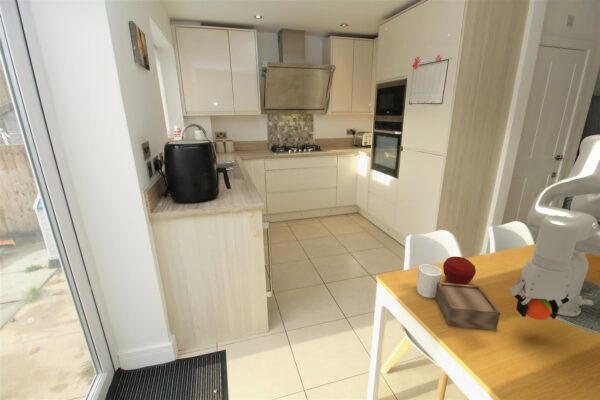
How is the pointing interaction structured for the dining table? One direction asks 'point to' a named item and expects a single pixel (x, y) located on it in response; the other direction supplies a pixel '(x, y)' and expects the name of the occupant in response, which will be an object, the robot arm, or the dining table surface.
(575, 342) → the dining table surface
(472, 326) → the walnut stand
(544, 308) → the clementine
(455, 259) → the apple
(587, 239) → the robot arm
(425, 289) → the white cup
